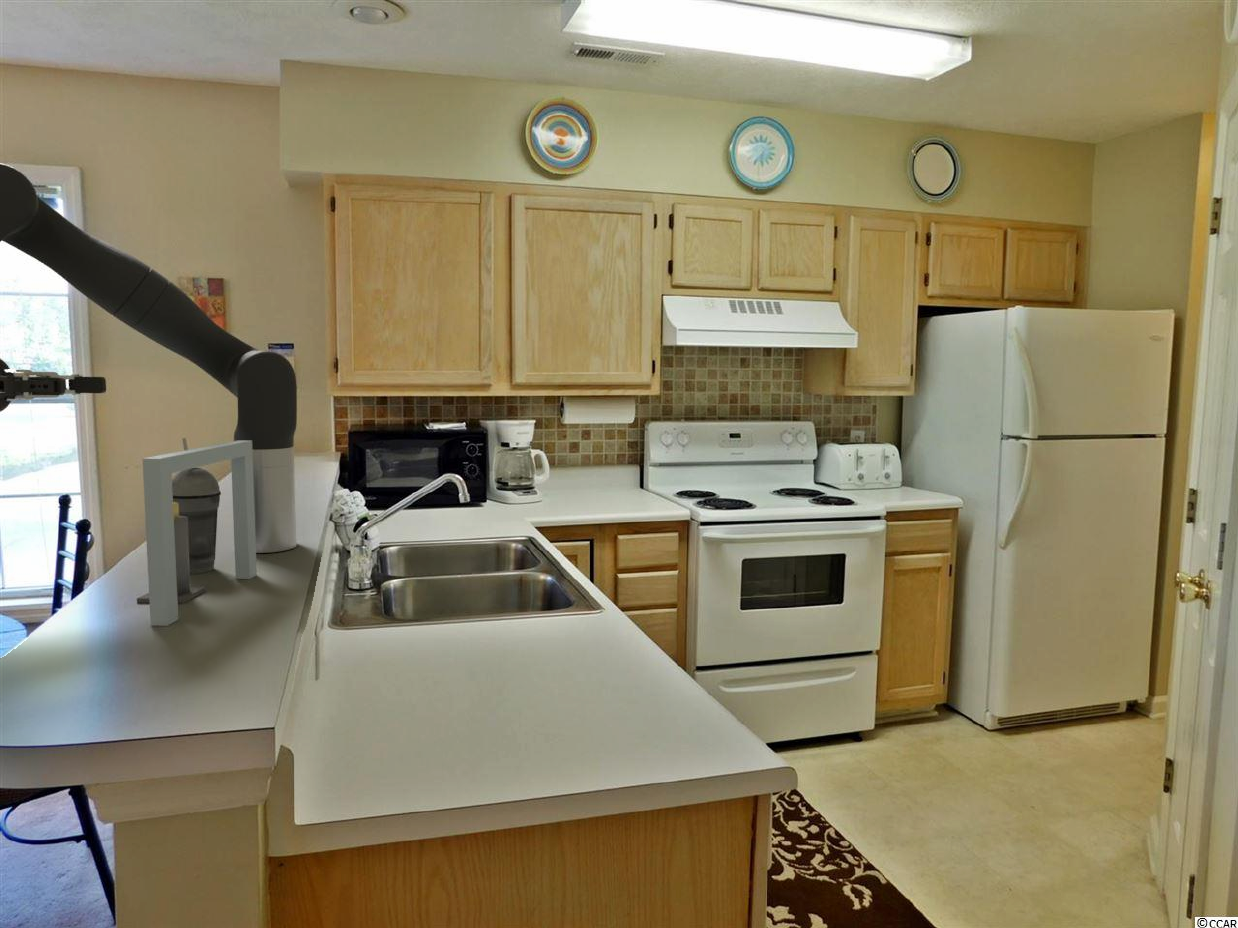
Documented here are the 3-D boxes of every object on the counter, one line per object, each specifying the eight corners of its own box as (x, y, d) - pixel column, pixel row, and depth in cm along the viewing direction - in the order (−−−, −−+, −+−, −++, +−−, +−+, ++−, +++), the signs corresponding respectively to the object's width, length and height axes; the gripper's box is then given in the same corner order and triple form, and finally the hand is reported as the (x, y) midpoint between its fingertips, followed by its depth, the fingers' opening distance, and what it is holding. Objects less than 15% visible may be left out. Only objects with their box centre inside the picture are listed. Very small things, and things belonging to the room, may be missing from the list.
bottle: (162, 587, 116) (159, 500, 114) (196, 588, 116) (193, 501, 114) (145, 596, 111) (141, 506, 110) (179, 597, 111) (177, 507, 110)
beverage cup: (209, 576, 125) (203, 440, 123) (160, 575, 125) (153, 439, 123) (232, 564, 132) (228, 436, 130) (186, 564, 132) (180, 436, 130)
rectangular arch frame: (243, 574, 126) (238, 440, 124) (256, 574, 126) (252, 440, 124) (150, 625, 101) (142, 458, 99) (167, 625, 101) (159, 458, 99)
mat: (161, 590, 117) (161, 586, 117) (205, 591, 117) (205, 587, 117) (137, 602, 111) (136, 598, 111) (183, 603, 111) (182, 598, 111)
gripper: (-88, 354, 103) (46, 356, 103) (-3, 355, 117) (115, 357, 117) (-83, 416, 104) (50, 417, 104) (1, 410, 118) (118, 411, 118)
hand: (84, 385), depth 110 cm, fingers open, 8 cm apart
